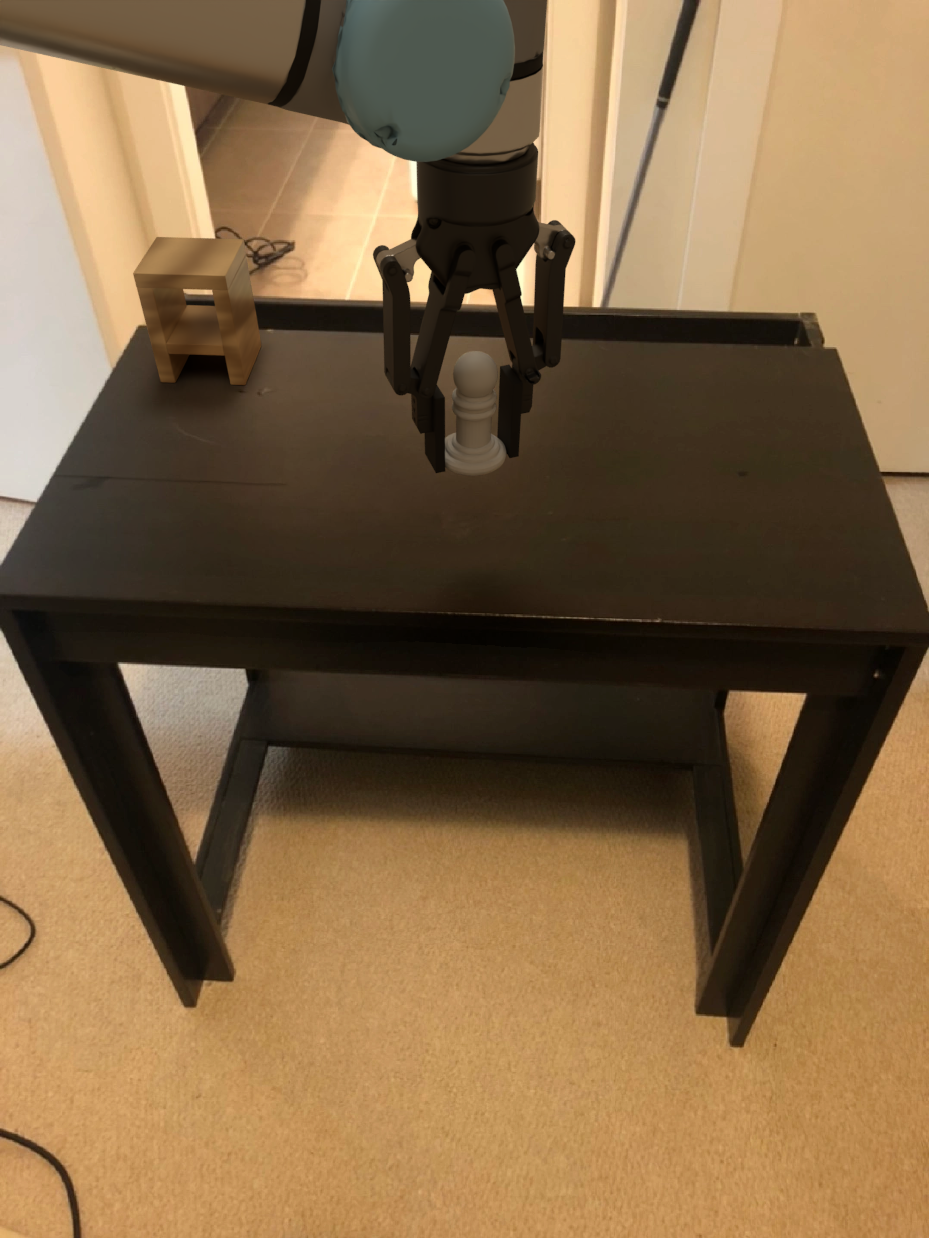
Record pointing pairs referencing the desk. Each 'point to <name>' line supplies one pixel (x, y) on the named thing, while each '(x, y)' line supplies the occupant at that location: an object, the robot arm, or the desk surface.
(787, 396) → the desk surface
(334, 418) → the desk surface
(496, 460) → the chess piece
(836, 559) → the desk surface
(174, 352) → the shelf
